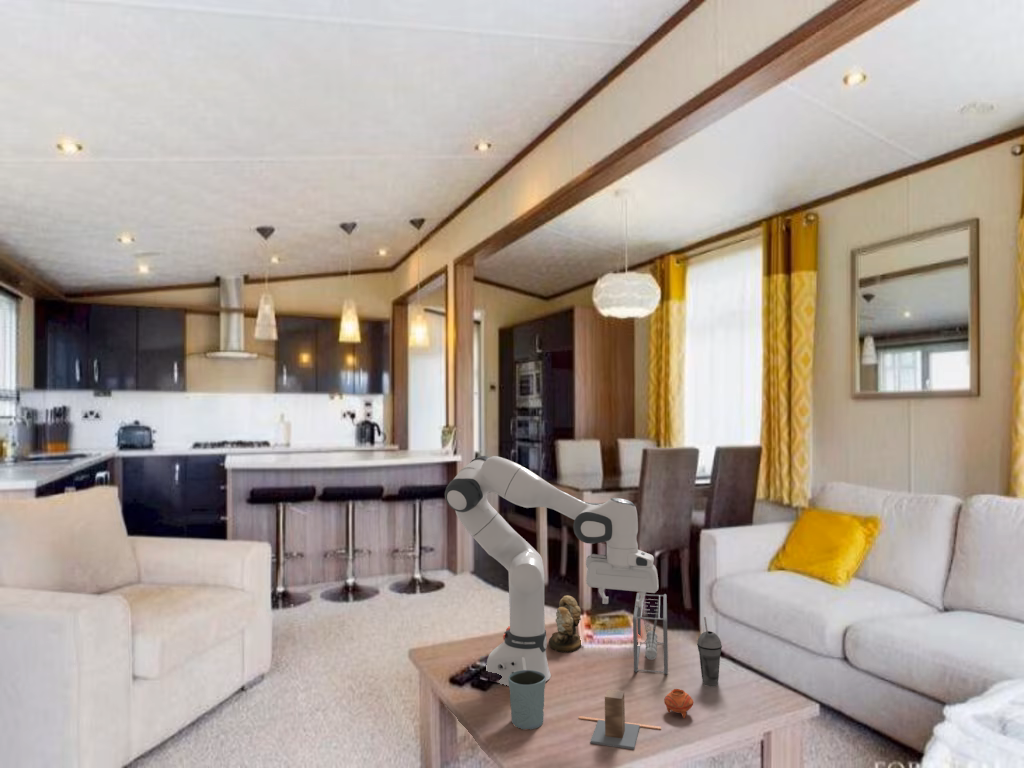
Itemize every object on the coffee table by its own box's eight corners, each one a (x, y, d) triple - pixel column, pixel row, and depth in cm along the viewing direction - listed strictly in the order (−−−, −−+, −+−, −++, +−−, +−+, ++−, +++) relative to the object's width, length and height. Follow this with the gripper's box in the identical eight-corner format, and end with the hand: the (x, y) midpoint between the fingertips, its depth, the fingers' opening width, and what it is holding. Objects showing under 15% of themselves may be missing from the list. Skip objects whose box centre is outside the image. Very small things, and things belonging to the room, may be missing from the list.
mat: (590, 743, 167) (590, 740, 167) (598, 721, 178) (598, 719, 178) (634, 749, 164) (634, 747, 164) (639, 727, 175) (639, 725, 175)
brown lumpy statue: (550, 634, 245) (549, 588, 246) (581, 635, 244) (581, 588, 245) (547, 652, 228) (547, 602, 228) (582, 653, 226) (581, 603, 227)
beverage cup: (724, 689, 197) (722, 621, 197) (698, 687, 198) (697, 620, 199) (721, 679, 204) (720, 614, 204) (697, 677, 205) (695, 612, 206)
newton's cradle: (637, 640, 238) (636, 591, 238) (667, 642, 235) (666, 592, 236) (633, 674, 208) (632, 617, 209) (667, 677, 206) (666, 619, 207)
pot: (701, 716, 180) (696, 693, 179) (676, 727, 178) (671, 703, 177) (686, 702, 187) (681, 680, 187) (662, 712, 185) (656, 690, 185)
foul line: (578, 718, 180) (578, 717, 180) (579, 717, 181) (579, 715, 181) (660, 729, 173) (660, 728, 173) (661, 727, 174) (661, 726, 174)
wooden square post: (605, 736, 169) (604, 696, 170) (608, 727, 173) (607, 689, 174) (622, 738, 168) (621, 698, 168) (624, 730, 172) (624, 691, 172)
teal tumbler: (510, 731, 173) (509, 685, 174) (507, 713, 184) (507, 670, 184) (548, 729, 174) (547, 683, 174) (543, 711, 184) (543, 668, 185)
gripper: (583, 555, 188) (583, 604, 187) (657, 561, 181) (656, 612, 181) (588, 551, 194) (588, 598, 193) (659, 556, 187) (659, 605, 187)
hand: (622, 605), depth 187 cm, fingers open, 8 cm apart
